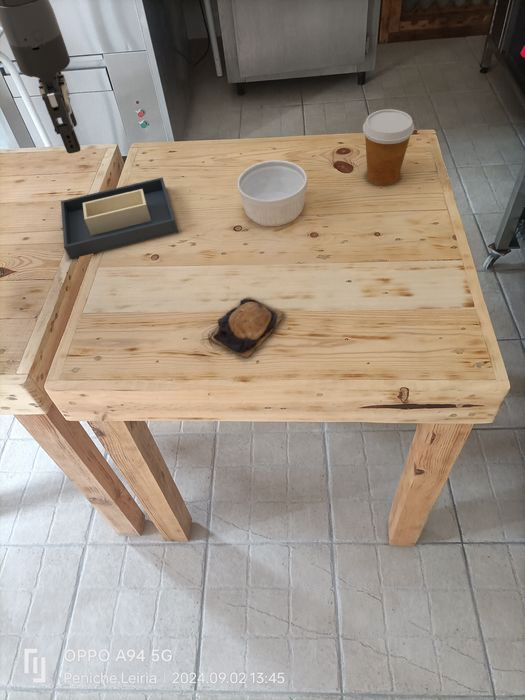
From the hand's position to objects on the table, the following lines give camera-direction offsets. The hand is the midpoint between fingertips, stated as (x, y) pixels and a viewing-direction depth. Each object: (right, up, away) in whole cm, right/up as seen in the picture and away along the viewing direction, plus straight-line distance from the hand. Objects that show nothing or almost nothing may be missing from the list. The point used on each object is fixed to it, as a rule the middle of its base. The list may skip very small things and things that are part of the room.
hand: (72, 138), depth 89 cm
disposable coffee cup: (+57, 0, +20) cm, 60 cm away
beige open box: (+3, -9, +18) cm, 20 cm away
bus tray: (+3, -10, +18) cm, 21 cm away
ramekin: (+34, -8, +17) cm, 39 cm away
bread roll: (+29, -32, -2) cm, 43 cm away
